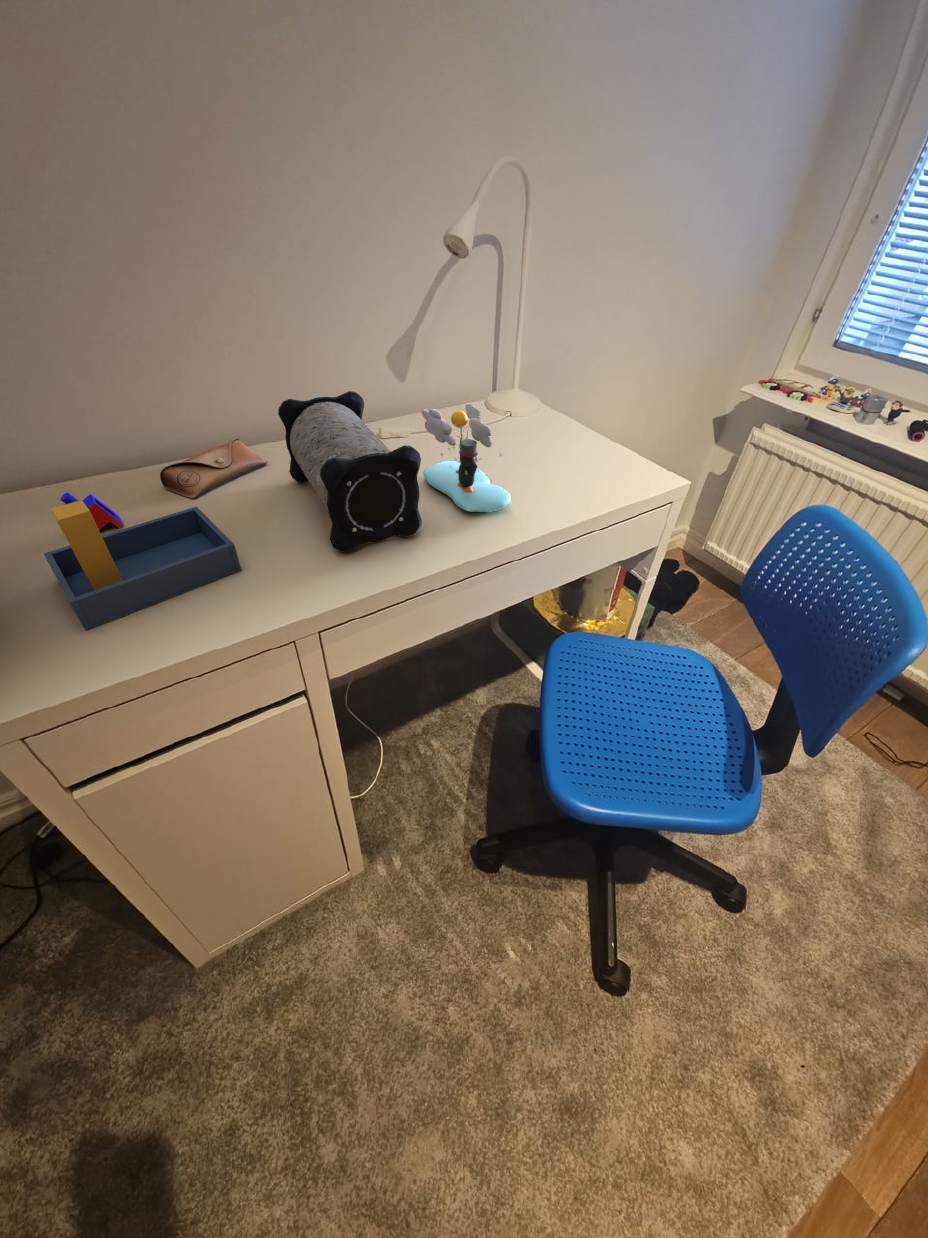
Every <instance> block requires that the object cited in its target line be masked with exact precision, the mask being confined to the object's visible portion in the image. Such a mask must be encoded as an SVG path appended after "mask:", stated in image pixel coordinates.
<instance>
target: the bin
mask: <svg viewBox="0 0 928 1238" xmlns="http://www.w3.org/2000/svg"><path fill="white" fill-rule="evenodd" d="M101 536H102V538H103V540H104V542H105V544H106V546H107V548H108V550H109V552H110V554H111V557H112V559H113V561H114V563H115V565H116V567H117V569H118V571H119V573H120V575H121V577H122V579H123V581H120V582H117V583H114V584H111V585H109V586H106V587H103V588H100V589H97V590H94V589H93V588H92V586H91V584H90V582H89V580H88V579H87V577H86V575H85V573H84V571H83V569H82V567H81V565H80V564H79V562H78V560H77V558H76V556H75V554H74V552H73V550H72V549H71V547H70V545H69V544H68V545H67V546H63V547H60V548H56V549H54V550H51V551H47V552H44V553H43V556H44V557H45V559H46V561H47V563H48V565H49V567H50V569H51V571H52V573H53V575H54V576H55V579H56V580H57V582H58V584H59V586H60V588H61V590H62V592H63V593H64V595H65V597H66V599H67V601H68V604H69V605H70V606H71V608H72V610H73V612H74V614H75V615H76V617H77V618H78V621H79V623H80V624H81V625H82V627H83V629H84V630H85V631H89V630H91V629H95V628H96V627H100V626H101V625H104V624H107V623H110V622H112V621H114V620H117V619H121V618H123V617H125V616H127V615H131V614H133V613H136V612H138V611H141V610H144V609H147V608H148V607H151V606H153V605H154V606H155V605H156V604H160V603H161V602H162V603H163V601H167V600H170V599H172V598H174V597H177V596H180V595H182V594H185V593H188V592H190V591H192V590H195V589H198V588H200V587H202V586H206V585H208V584H211V583H213V582H215V581H218V580H221V579H223V578H226V577H229V576H231V575H234V574H237V573H239V572H241V571H242V566H241V562H240V559H239V556H238V553H237V549H236V546H235V543H234V542H233V541H232V540H231V539H230V538H229V537H227V535H226V534H225V533H224V532H223V531H222V530H221V529H220V528H219V527H218V526H217V525H216V524H215V523H214V522H213V521H212V520H211V519H210V518H209V517H208V516H207V515H206V514H205V513H204V512H203V511H202V510H201V509H200V508H199V507H198V506H193V507H190V508H187V509H183V510H180V511H177V512H174V513H170V514H167V515H163V516H161V517H158V518H154V519H150V520H148V521H145V522H141V523H138V524H135V525H132V526H128V527H125V528H122V529H121V528H120V529H119V530H115V531H112V532H109V533H105V534H103V535H102V534H101Z"/></svg>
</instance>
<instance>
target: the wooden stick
mask: <svg viewBox="0 0 928 1238" xmlns="http://www.w3.org/2000/svg"><path fill="white" fill-rule="evenodd" d="M82 500H83V499H81V500H79V501H77V502H73V503H69V504H62V505H59V506H55V507H51V508H50V511H51V513H52V515H53V517H54V519H55V520H56V522H57V524H58V526H59V528H60V530H61V532H62V533H63V535H64V537H65V539H66V541H67V543H68V546H69V545H70V547H71V549H72V550H73V552H74V554H75V556H76V558H77V560H78V562H79V564H80V565H81V567H82V569H83V571H84V573H85V575H86V577H87V579H88V580H89V582H90V584H91V586H92V588H93V589H94V590H97V589H100V588H103V587H106V586H109V585H111V584H114V583H117V582H120V581H123V579H122V577H121V575H120V573H119V571H118V569H117V567H116V565H115V563H114V561H113V559H112V557H111V554H110V552H109V550H108V548H107V546H106V544H105V542H104V540H103V538H102V534H101V532H100V530H99V529H98V527H97V525H96V523H95V521H94V519H93V517H92V515H91V513H90V511H89V509H88V508H87V507H86V505H85V504H84V502H83V501H82Z"/></svg>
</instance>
